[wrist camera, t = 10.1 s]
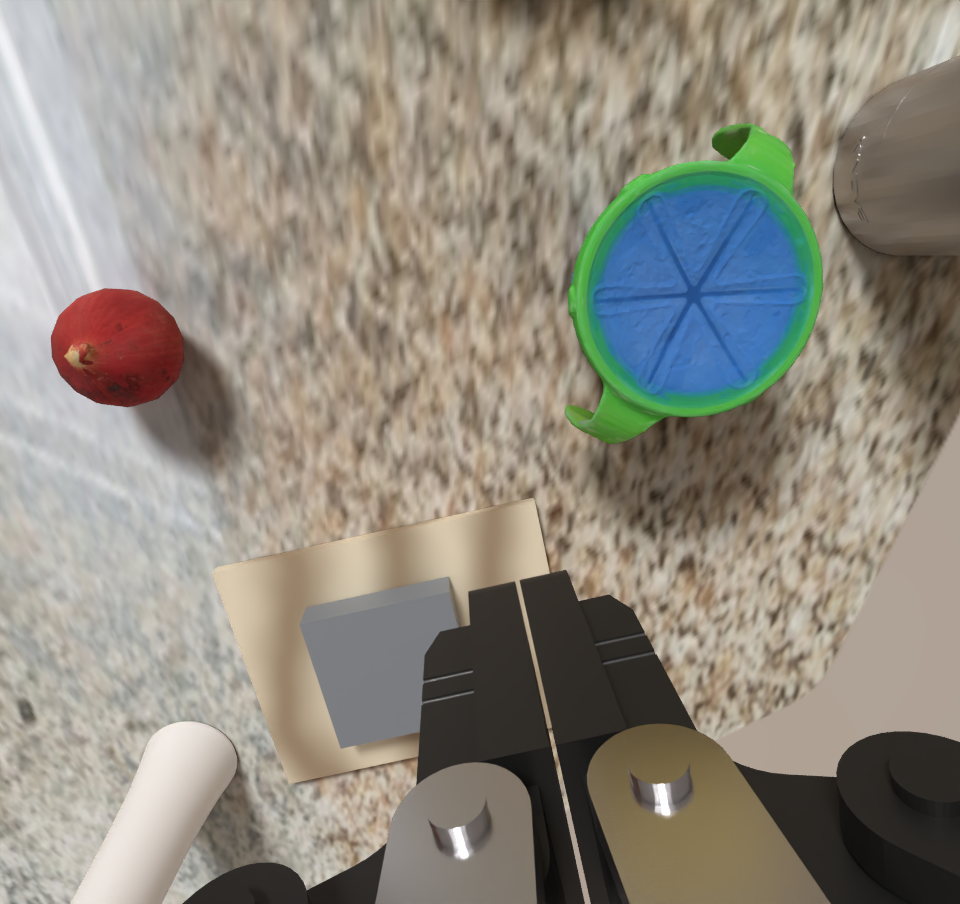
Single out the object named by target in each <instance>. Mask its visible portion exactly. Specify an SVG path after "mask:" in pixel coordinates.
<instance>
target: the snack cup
mask: <svg viewBox="0 0 960 904" xmlns="http://www.w3.org/2000/svg"><path fill="white" fill-rule="evenodd" d="M712 146H713V148H714V149H715V150H716V151H718V152H719V153H720V154H721V155H723V156H724V157H726V158H728V159H729V160H728V161H726V162H723V161H709V160H708V161H697V162H688V163H682V164H677V165H674V166H671V167H668V168H666V169H663V170H661V171H658V172H656V173H653V174H651V175H650V174H642V175H640V176H639V177H637V178H636V179H634V180H632V181H631V182H630V183H628V184H627V185H626V186H625V187H623V188H622V190H621V191H620V193H619V195H618V196H617V198H616V199H615V200H614V201H613V202H612V203H611V204H610V205H609V206H608V207H607V208H606V209H605V210H604V211H603V213H602V214H601V215H600V216H599V218H598V219H597V221H596V222H595V223H594V225H593V226H592V227H591V229H590V231H589V232H588V234H587V236H586V239H585V241H584V243H583V245H582V247H581V250H580V252H579V255H578V258H577V260H576V263H575V269H574V272H573V274H572V279H571V287H570V289H569V292H568V305H569V315H570V316H571V317H572V319H573V325H574V328H575V331H576V334H577V337H578V340H579V342H580V345H581V347H582V349H583V352H584V354H585V356H586V358H587V359H588V361H589V363H590V365H591V366H592V367H593V368H594V370H595V371H596V372H597V374H598V375H599V376H600V378H601V380H602V382H603V395H602V398H601V401H600V404H599V406H598V408H597V410H596V412H595V414H594V413H592V412H590V411H588V410H585V409H583V408H580V407H577V406H573V405H568V406H566V408H565V415H566V417H567V419H568V420H569V421H570V422H571V424H572V425H574V426H575V427H577V428H578V429H580V430H581V431H583V432H585V433H589V434H590V435H592V436H594V437H596V438H598V439H600V440H601V441H603V442H606V443H610V444H615V443H621V442H624V441H627V440H630V439H632V438H634V437H636V436H637V435H639V434H641V433H643V432H644V431H645V430H647V429H648V428H650V427H651V426H652V425H654V424H655V423H656V422H658V421H660V420H662V419H663V418H665V417H669V416H676V417H701V416H710V415H715V414H719V413H722V412H726V411H729V410H731V409H734V408H736V407H738V406H741V405H746V404H748V403H750V402H752V401H753V400H755V399H757V398H758V397H759V396H760V395H762V394H763V392H764V391H765V390H767V389H768V388H770V387H771V386H772V385H773V384H775V383H776V382H777V381H778V380H779V379H780V378H781V377H782V376H783V375H784V374H785V373H786V372H787V371H788V369H789V368H790V367H791V366H792V365H793V363H794V362H795V360H796V359H797V358H798V356H799V355H800V353H801V352H802V350H803V348H804V346H805V344H806V343H807V341H808V339H809V337H810V334H811V332H812V330H813V327H814V324H815V321H816V318H817V315H818V310H819V306H820V302H821V296H822V290H823V270H822V260H821V254H820V251H819V245H818V242H817V239H816V235H815V232H814V230H813V228H812V226H811V224H810V221H809V219H808V217H807V216H806V214H805V212H804V211H803V209H802V208H801V206H800V205H799V204H798V203H797V202H796V200H795V199H794V198H793V179H794V168H795V164H794V162H793V159H792V154H791V150H790V148H789V147H788V146H787V145H786V144H785V143H784V142H783V141H781V140H780V139H779V138H776V137H774V136H771V135H770V134H768V133H767V132H765V131H764V130H763V129H762V128H761V127H758V126H756V125H753V124H749V123H747V124H736V125H731V126H727V127H725V128H721V129H720V130H719V131H718V132H717V133H715V134H714V136H713V138H712Z"/></svg>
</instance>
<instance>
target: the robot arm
mask: <svg viewBox="0 0 960 904" xmlns="http://www.w3.org/2000/svg"><path fill="white" fill-rule="evenodd" d="M833 187H834V194H835V200H836V205H837V208H838V210H839V213H840V215H841V218H842V220H843V222H844V223H845V225H846V226H847V228H848V229H849V231H850V232H851V233H852V235H853V236H855V237H856V238H857V239H858V240H859V241H860V242H862V243H863V244H864V245H865V246H867V247H869V248H871V249H873V250H875V251H877V252H880V253H884V254H889V255H893V256H924V255H951V256H959V255H960V56H957V57H955V58H952V59H950V60H947V61H945V62H942V63H940V64H938V65H935V66H933V67H930V68H928V69H925V70H923V71H921V72H918V73H916V74H913V75H911V76H908V77H906V78H904V79H902V80H899V81H897V82H895V83H893V84H891V85H888V86H887V87H886V88H884V89H883V90H882V91H880V92H879V93H877V94H876V95H875V96H873V97H872V98H871V99H870V100H869V101H868V102H867V103H866V104H865V105H864V106H863V107H862V108H861V110H860V111H859V112H858V113H857V114H856V116H855V117H854V119H853V121H852V122H851V124H850V125H849V127H848V128H847V130H846V132H845V134H844V137H843V139H842V141H841V144H840V146H839V149H838V153H837V157H836V162H835V166H834V183H833ZM519 581H520V585H521V590H522V594H523V599H524V603H525V608H526V613H527V617H528V622H529V626H530V631H531V635H532V640H533V644H534V649H535V653H536V658H537V662H538V667H539V671H540V676H541V680H542V685H543V689H544V694H545V698H546V703H547V707H548V712H549V716H550V721H551V726H552V730H553V735H554V739H555V744H556V748H557V753H558V757H559V762H560V766H561V771H562V775H563V780H564V784H565V789H566V793H567V798H568V802H569V807H570V811H571V815H572V820H573V824H574V829H575V834H576V838H577V843H578V847H579V852H580V856H581V861H582V865H583V870H584V874H585V879H586V883H587V888H588V893H589V897H590V902H591V904H960V742H958V741H955V740H951V739H948V738H945V737H941V736H937V735H931V734H927V733H918V732H887V733H880V734H876V735H872V736H869V737H866V738H865V739H862V740H860V741H858V742H856V743H855V744H853V745H852V746H850V747H849V748H848V749H847V750H846V751H845V753H844V754H843V755H842V757H841V759H840V761H839V763H838V767H837V772H836V773H837V777H823V776H805V775H786V774H777V773H769V772H765V771H760V770H756V769H753V768H750V767H746V766H743V765H741V764H739V763H736V762H734V761H732V759H731V758H730V756H729V755H728V754H727V753H726V751H725V750H724V749H723V748H722V747H721V746H720V745H719V744H717V743H716V742H715V741H714V740H713V739H711V738H709V737H708V736H706V735H704V734H702V733H700V732H698V731H697V730H696V728H695V726H694V724H693V722H692V720H691V718H690V717H689V715H688V713H687V711H686V709H685V707H684V705H683V703H682V701H681V700H680V698H679V696H678V694H677V692H676V690H675V688H674V686H673V685H672V683H671V681H670V679H669V677H668V675H667V673H666V671H665V669H664V668H663V666H662V664H661V662H660V660H659V658H658V656H657V654H656V655H655V652H654V649H653V647H652V645H651V643H650V641H649V639H648V637H647V636H645V633H644V630H643V628H642V626H641V624H640V622H639V620H638V619H637V617H636V615H635V613H634V611H633V610H632V609H631V608H629V607H628V606H626V605H625V604H623V603H621V602H620V601H618V600H617V599H615V598H614V597H612V596H610V595H605V596H601V597H596V598H591V599H587V600H582V601H578V599H577V596H576V594H575V591H574V588H573V586H572V583H571V581H570V578H569V575H568V573H567V571H566V570H563V571H558V572H554V573H549V574H545V575H540V576H535V577H531V578H526V579H522V580H519ZM468 599H469V617H470V625H468V626H463V627H459V628H454V629H449V630H445V631H440V632H439V634H438V635H437V637H436V638H435V640H434V641H433V643H432V644H431V646H430V647H429V649H428V651H427V652H426V654H425V657H424V673H423V681H424V684H423V689H422V704H423V705H421V720H420V736H419V752H418V768H417V784H416V786H415V787H414V788H413V789H412V790H411V791H410V792H409V793H408V794H407V795H406V796H405V797H404V799H403V800H402V802H401V803H400V805H399V806H398V807H397V810H396V812H395V814H394V816H393V818H392V822H391V825H390V829H389V834H388V839H387V843H386V844H385V845H384V846H383V847H382V848H380V849H379V850H378V851H377V852H375V853H374V854H373V855H371V856H370V857H369V858H367V859H366V860H364V861H362V862H360V863H359V864H357V865H355V866H354V867H352V868H350V869H348V870H346V871H344V872H342V873H340V874H338V875H336V876H334V877H332V878H330V879H328V880H326V881H324V882H322V883H320V884H318V885H317V886H315V887H313V888H311V889H309V890H306V888H305V885H304V882H303V881H302V880H301V878H300V877H299V875H298V874H297V873H296V872H294V871H293V870H292V869H291V868H288V867H286V866H284V865H281V864H276V863H256V864H250V865H246V866H243V867H240V868H236V869H234V870H232V871H229V872H227V873H225V874H223V875H221V876H219V877H218V878H216V879H214V880H212V881H211V882H209V883H208V884H206V885H205V886H203V887H202V888H201V889H199V890H198V891H197V892H195V893H194V894H193V895H192V896H191V897H190V898H189V899H187V900H186V901H185V902H184V903H183V904H585V902H584V898H583V893H582V888H581V883H580V879H579V874H578V870H577V865H576V860H575V855H574V850H573V846H572V841H571V837H570V832H569V827H568V823H567V818H566V813H565V808H564V803H563V798H562V794H561V789H560V784H559V780H558V775H557V770H556V765H555V761H554V756H553V751H552V747H551V742H550V737H549V732H548V728H547V723H546V718H545V713H544V709H543V704H542V700H541V695H540V690H539V686H538V681H537V677H536V672H535V668H534V663H533V659H532V654H531V650H530V645H529V641H528V636H527V632H526V627H525V623H524V618H523V614H522V609H521V605H520V600H519V596H518V592H517V587H516V583H515V581H513V582H509V583H504V584H499V585H495V586H490V587H486V588H481V589H476V590H472V591H468Z"/></svg>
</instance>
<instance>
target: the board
mask: <svg viewBox="0 0 960 904" xmlns="http://www.w3.org/2000/svg"><path fill="white" fill-rule="evenodd" d="M549 573H550V572H549V567H548V562H547V557H546V553H545V548H544V543H543V538H542V533H541V528H540V523H539V519H538V514H537V509H536V504H535V500H534V498H530V499H525V500H521V501H516V502H512V503H507V504H503V505H498V506H493V507H489V508H484V509H480V510H475V511H471V512H466V513H462V514H457V515H453V516H448V517H443V518H439V519H434V520H430V521H425V522H421V523H416V524H412V525H407V526H402V527H398V528H393V529H389V530H384V531H380V532H375V533H371V534H366V535H362V536H357V537H352V538H348V539H343V540H339V541H334V542H330V543H325V544H321V545H316V546H311V547H307V548H302V549H298V550H293V551H289V552H284V553H280V554H275V555H271V556H266V557H261V558H257V559H252V560H248V561H243V562H239V563H234V564H230V565H225V566H220V567H216V569H215V570H214V571H213V572H212V575H213V578H214V580H215V583H216V586H217V589H218V591H219V594H220V597H221V599H222V602H223V605H224V608H225V610H226V613H227V616H228V619H229V621H230V624H231V627H232V629H233V632H234V635H235V638H236V640H237V643H238V646H239V649H240V651H241V654H242V657H243V659H244V662H245V665H246V668H247V670H248V673H249V676H250V679H251V681H252V684H253V687H254V689H255V692H256V695H257V698H258V700H259V703H260V706H261V709H262V711H263V714H264V717H265V719H266V722H267V725H268V728H269V730H270V733H271V736H272V739H273V741H274V744H275V747H276V749H277V752H278V755H279V758H280V760H281V763H282V766H283V769H284V771H285V774H286V777H287V779H288V782H289V784H292V783H297V782H301V781H306V780H311V779H315V778H320V777H325V776H329V775H334V774H339V773H343V772H348V771H353V770H357V769H362V768H367V767H371V766H376V765H381V764H385V763H390V762H395V761H399V760H404V759H409V758H413V757H418V752H419V736H420V732H417V733H412V734H407V735H403V736H398V737H393V738H389V739H384V740H379V741H375V742H370V743H365V744H361V745H356V746H351V747H347V748H342V749H341V748H340V745H339V742H338V739H337V736H336V733H335V730H334V727H333V724H332V721H331V718H330V715H329V712H328V709H327V706H326V703H325V700H324V697H323V694H322V691H321V688H320V685H319V682H318V679H317V676H316V673H315V670H314V667H313V664H312V661H311V658H310V655H309V652H308V649H307V646H306V643H305V640H304V637H303V634H302V631H301V628H300V625H299V624H300V622H301V619H302V617H303V614H304V612H305V610H306V607H311V606H315V605H320V604H324V603H329V602H333V601H338V600H343V599H347V598H352V597H356V596H361V595H366V594H370V593H375V592H379V591H384V590H388V589H393V588H398V587H402V586H407V585H411V584H416V583H421V582H425V581H430V580H434V579H439V578H443V577H448V576H449V580H450V583H451V587H452V591H453V595H454V599H455V603H456V607H457V611H458V615H459V619H460V623H461V627H463V626H468V625H470V617H469V599H468V591H472V590H476V589H481V588H486V587H490V586H495V585H499V584H504V583H509V582H513V581H515V583H516V587H517V592H518V596H519V600H520V605H521V609H522V614H523V618H524V623H525V627H526V632H527V636H528V641H529V645H530V650H531V654H532V659H533V663H534V668H535V672H536V677H537V681H538V686H539V690H540V695H541V700H542V704H543V709H544V713H545V718H546V723H547V728H548V729H549V728H552V726H551V721H550V716H549V712H548V707H547V703H546V698H545V694H544V689H543V685H542V680H541V676H540V671H539V667H538V662H537V658H536V653H535V649H534V644H533V640H532V635H531V631H530V626H529V622H528V617H527V613H526V608H525V603H524V599H523V594H522V590H521V585H520V581H519V580H522V579H526V578H531V577H535V576H540V575H545V574H549Z"/></svg>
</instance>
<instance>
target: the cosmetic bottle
mask: <svg viewBox="0 0 960 904" xmlns="http://www.w3.org/2000/svg"><path fill="white" fill-rule="evenodd" d="M236 769H237V756H236V752H235V749H234V747H233V745H232V743H231V742H230V741H229V739H228V738H227V737H226V736H225V735H224V734H223V733H221V732H220V731H219V730H217V729H215V728H214V727H211V726H209V725H206V724H203V723H199V722H191V721H185V722H177V723H173V724H170V725H168V726H165V727H163V728H162V729H160V730H159V731H157V732H156V733H155V734H154V735H153V736H152V738H151V739H150V740H149V742H148V744H147V746H146V749H145V752H144V754H143V757H142V760H141V763H140V765H139V768H138V771H137V773H136V775H135V778H134V780H133V783H132V785H131V787H130V789H129V791H128V794H127V796H126V798H125V800H124V802H123V804H122V806H121V808H120V810H119V812H118V814H117V816H116V818H115V820H114V822H113V824H112V826H111V828H110V830H109V832H108V834H107V836H106V838H105V840H104V842H103V843H102V845H101V847H100V849H99V851H98V853H97V855H96V857H95V858H94V860H93V862H92V864H91V866H90V868H89V870H88V872H87V873H86V875H85V877H84V879H83V881H82V883H81V885H80V886H79V888H78V890H77V892H76V894H75V896H74V897H73V899H72V901H71V903H70V904H162V902H163V900H164V898H165V896H166V894H167V892H168V890H169V888H170V886H171V884H172V882H173V880H174V878H175V876H176V874H177V872H178V870H179V868H180V866H181V864H182V862H183V860H184V858H185V857H186V855H187V853H188V851H189V849H190V847H191V845H192V843H193V842H194V840H195V838H196V836H197V834H198V833H199V831H200V829H201V827H202V825H203V824H204V822H205V820H206V819H207V817H208V815H209V813H210V812H211V810H212V808H213V807H214V805H215V804H216V802H217V801H218V799H219V798H220V796H221V794H222V793H223V792H224V790H225V789H226V787H227V786H228V785H229V783H230V782H231V780H232V779H233V777H234V775H235V772H236Z"/></svg>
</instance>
